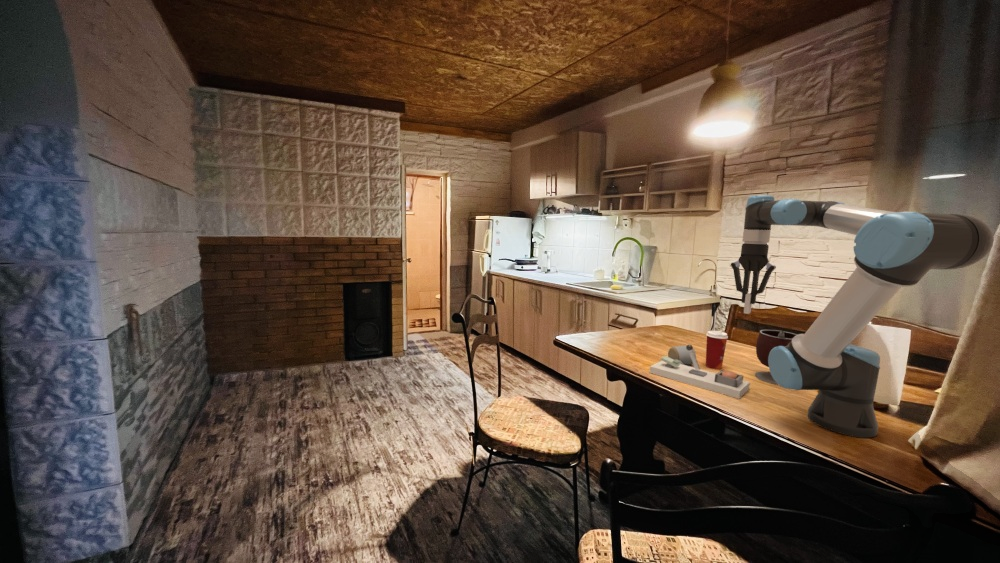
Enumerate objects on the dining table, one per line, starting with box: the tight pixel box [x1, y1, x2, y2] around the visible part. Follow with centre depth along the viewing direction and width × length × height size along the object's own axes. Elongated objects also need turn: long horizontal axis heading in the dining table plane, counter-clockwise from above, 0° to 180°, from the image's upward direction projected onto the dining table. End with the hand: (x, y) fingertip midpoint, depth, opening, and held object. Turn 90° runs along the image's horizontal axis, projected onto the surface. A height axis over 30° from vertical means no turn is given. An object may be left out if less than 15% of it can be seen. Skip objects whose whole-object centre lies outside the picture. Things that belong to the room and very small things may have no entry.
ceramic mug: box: [667, 344, 697, 368], centre depth 159 cm, size 11×8×8 cm
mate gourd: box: [754, 329, 798, 386], centre depth 146 cm, size 16×14×20 cm
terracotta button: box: [722, 370, 738, 379], centre depth 136 cm, size 4×4×2 cm
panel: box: [649, 360, 751, 400], centre depth 143 cm, size 30×12×5 cm, turn 45°
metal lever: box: [686, 344, 701, 370], centre depth 144 cm, size 2×2×9 cm
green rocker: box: [660, 355, 680, 367], centre depth 150 cm, size 6×4×2 cm, turn 45°
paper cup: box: [705, 330, 729, 370], centre depth 158 cm, size 8×8×14 cm
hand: (747, 312), depth 135 cm, fingers closed
